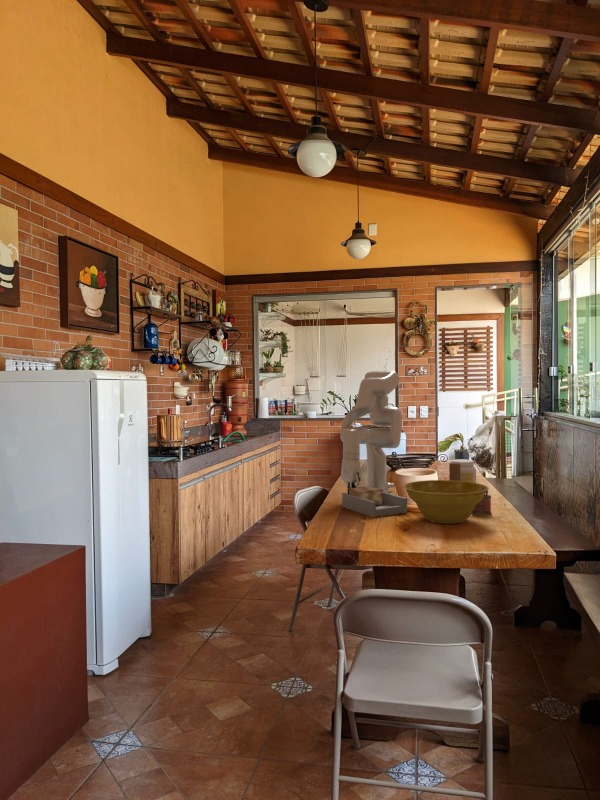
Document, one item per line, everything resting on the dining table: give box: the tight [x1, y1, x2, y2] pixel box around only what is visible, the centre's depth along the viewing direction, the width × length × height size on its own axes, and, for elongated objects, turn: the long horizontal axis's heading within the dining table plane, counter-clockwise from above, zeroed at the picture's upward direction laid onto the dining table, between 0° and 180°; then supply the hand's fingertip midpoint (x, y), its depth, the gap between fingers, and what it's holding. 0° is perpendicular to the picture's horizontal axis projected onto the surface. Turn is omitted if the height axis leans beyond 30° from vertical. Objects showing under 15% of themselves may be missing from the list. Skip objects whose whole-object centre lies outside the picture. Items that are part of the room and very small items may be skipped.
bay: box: [341, 492, 408, 518], centre depth 242 cm, size 17×23×6 cm
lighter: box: [471, 489, 492, 515], centre depth 233 cm, size 8×3×10 cm, turn 65°
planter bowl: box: [403, 479, 489, 525], centre depth 222 cm, size 32×32×13 cm
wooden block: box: [448, 462, 461, 481], centre depth 252 cm, size 9×4×18 cm, turn 70°
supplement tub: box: [450, 458, 477, 483], centre depth 270 cm, size 12×12×17 cm
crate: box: [349, 485, 383, 505], centre depth 247 cm, size 11×9×6 cm
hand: (351, 496), depth 257 cm, fingers closed
